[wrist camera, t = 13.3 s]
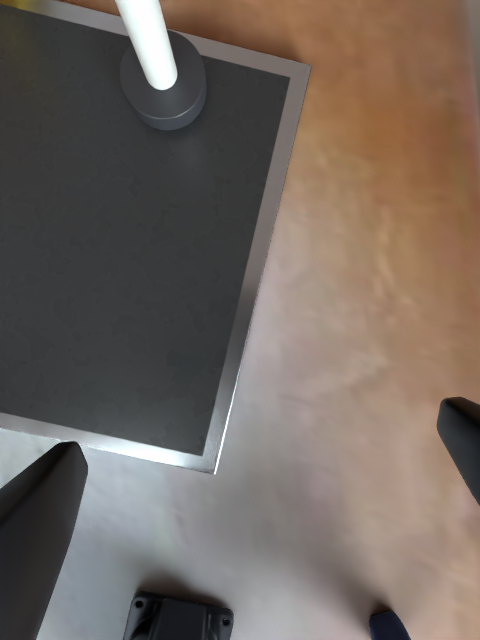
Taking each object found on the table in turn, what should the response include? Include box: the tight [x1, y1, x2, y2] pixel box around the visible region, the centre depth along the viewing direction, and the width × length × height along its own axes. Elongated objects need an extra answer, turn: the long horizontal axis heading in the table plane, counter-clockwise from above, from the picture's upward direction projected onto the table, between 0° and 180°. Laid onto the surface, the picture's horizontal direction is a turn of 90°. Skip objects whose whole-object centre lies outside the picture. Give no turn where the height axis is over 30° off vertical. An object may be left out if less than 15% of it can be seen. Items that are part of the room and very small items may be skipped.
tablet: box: [0, 0, 311, 474], centre depth 19 cm, size 24×18×1 cm
